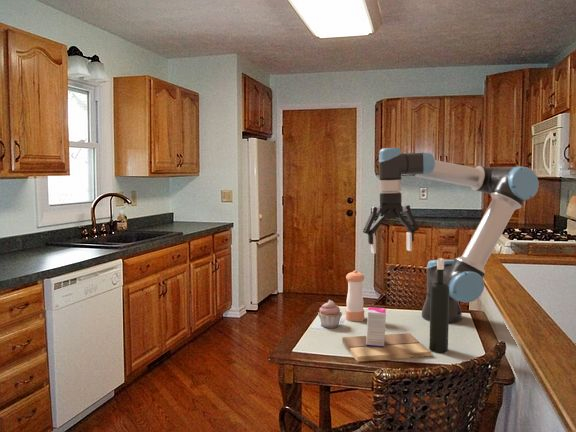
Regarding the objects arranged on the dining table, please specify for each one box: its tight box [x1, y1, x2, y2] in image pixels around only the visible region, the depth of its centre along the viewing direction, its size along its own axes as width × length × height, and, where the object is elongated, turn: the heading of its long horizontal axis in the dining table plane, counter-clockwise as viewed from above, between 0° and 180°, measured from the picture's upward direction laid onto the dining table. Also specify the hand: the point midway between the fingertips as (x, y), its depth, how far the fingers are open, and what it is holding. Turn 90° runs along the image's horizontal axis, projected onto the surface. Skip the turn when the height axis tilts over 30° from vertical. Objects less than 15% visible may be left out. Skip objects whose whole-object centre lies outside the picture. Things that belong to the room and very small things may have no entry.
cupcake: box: [317, 299, 343, 329], centre depth 193 cm, size 9×9×10 cm
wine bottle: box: [428, 257, 449, 354], centre depth 166 cm, size 6×6×30 cm
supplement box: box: [366, 306, 387, 347], centre depth 167 cm, size 6×6×12 cm
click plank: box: [341, 332, 420, 353], centre depth 172 cm, size 24×8×2 cm, turn 100°
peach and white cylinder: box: [345, 270, 365, 322], centre depth 202 cm, size 7×7×19 cm
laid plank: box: [349, 343, 432, 363], centre depth 163 cm, size 24×8×2 cm, turn 100°
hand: (391, 252), depth 183 cm, fingers open, 13 cm apart
